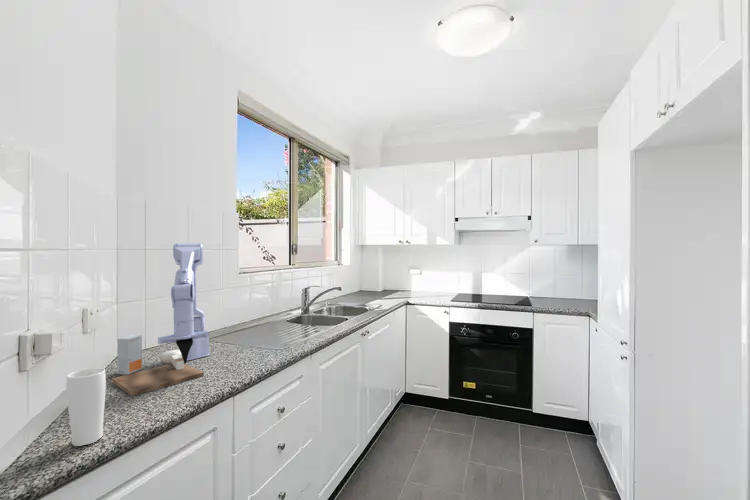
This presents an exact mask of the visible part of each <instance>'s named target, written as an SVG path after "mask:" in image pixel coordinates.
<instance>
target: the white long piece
mask: <svg viewBox="0 0 750 500" xmlns="http://www.w3.org/2000/svg"><path fill="white" fill-rule="evenodd" d="M160 362H161V363H165V364H167V363H172V364H173V365H174V367H175V368H176V369H177V370H178V369H183V368H184V364H185V363H184V361H183V358H182V355H181V352H180V350H179V349H171V350H166V351H164V352H161V353H160Z"/></svg>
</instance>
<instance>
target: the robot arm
mask: <svg viewBox="0 0 750 500" xmlns="http://www.w3.org/2000/svg"><path fill="white" fill-rule="evenodd" d="M172 247H173V248H172V253H173V254H172V255H173V256H172V257H173V259H174V261H175V264H176V265H177V266H179V269H178V270H176V271H175V276H174V277H175V279H174V283H173V284H174V285H172V286H171V288H170V297H171V298H170V299H171V304H172V305H171V306H172V308H173V334H169V335H165V336H160V337H157V344H158V345H163V344H168V343H175V344H176V346H177V347H178V350H180V352H181V355H182V358H183V361H184V364H187V363H188V361H191V360H196V359H199V358H204V357H207V356H211V353H210V340H209V337H210V336H209V335H210V332H209V331H208V330H206V318H205V313H204V311H203V310H201V309H199V307H197V301H198V300H197V269H198V267H199V266H200V265H203V262H204V246H203V244H202V243H201V242H197V243H194V242H193V243H191V242H190V243H187V242H186V243H176V242H175V243H174V244H173V246H172Z"/></svg>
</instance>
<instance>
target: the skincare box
mask: <svg viewBox="0 0 750 500" xmlns="http://www.w3.org/2000/svg"><path fill="white" fill-rule="evenodd" d="M142 336H143V335H141V334H130V335H126V336H123V337H121V338H117V341H116V342H117V375H128V374H132V373H136V372H139V371H142V370H143V349H142V348H143V337H142Z"/></svg>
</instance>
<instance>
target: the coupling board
mask: <svg viewBox="0 0 750 500" xmlns="http://www.w3.org/2000/svg"><path fill="white" fill-rule="evenodd" d="M204 374H205V373H204V371H202V370H200V369H197V368H195V367H193V366H190V365H188V364H187V363H184V368H183V369H178V370H177V369H176V368H175V367H174V365H173V364H172V363H166V365H162V366H158V367H154V368H150V369H144V370H140V371H136V372H133V373H130V374H128V375H126V374H123V375H120V376H116V377H112V378H111V382H112V383H113V384H114V385H116V387H118V388H120V389H121V390H122V391H124V392H125V393H127V394H128V395H130V397H134V396H137V395H140V394H144V393H149V392H151V391H154V390H158V389H161V388H165V387H166V388H167V387H168V386H172V385H176V384H180V383H183V382H187V381H191V380H194V379H197V378H201V377H204Z"/></svg>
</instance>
